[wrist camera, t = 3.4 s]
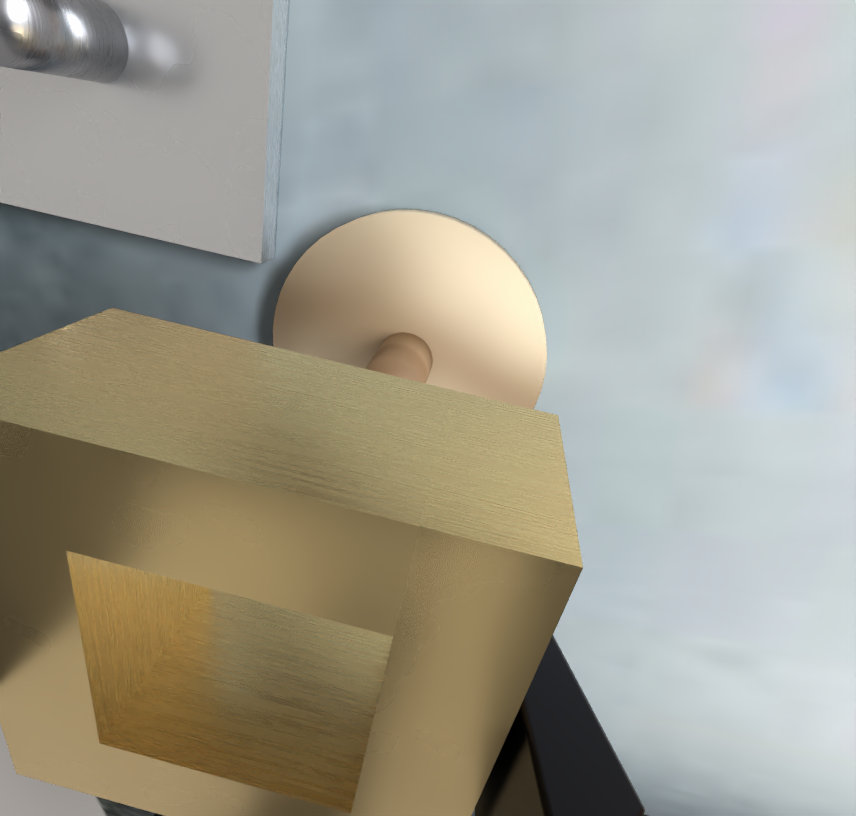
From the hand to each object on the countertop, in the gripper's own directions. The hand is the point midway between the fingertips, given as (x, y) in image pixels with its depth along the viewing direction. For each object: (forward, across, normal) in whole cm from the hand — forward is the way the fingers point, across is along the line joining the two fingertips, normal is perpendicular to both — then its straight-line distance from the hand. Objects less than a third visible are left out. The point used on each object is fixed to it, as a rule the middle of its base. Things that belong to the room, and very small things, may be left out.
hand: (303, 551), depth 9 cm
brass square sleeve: (0, 0, 0) cm, 0 cm away
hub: (+10, +10, -7) cm, 16 cm away
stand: (+10, 0, 0) cm, 10 cm away
